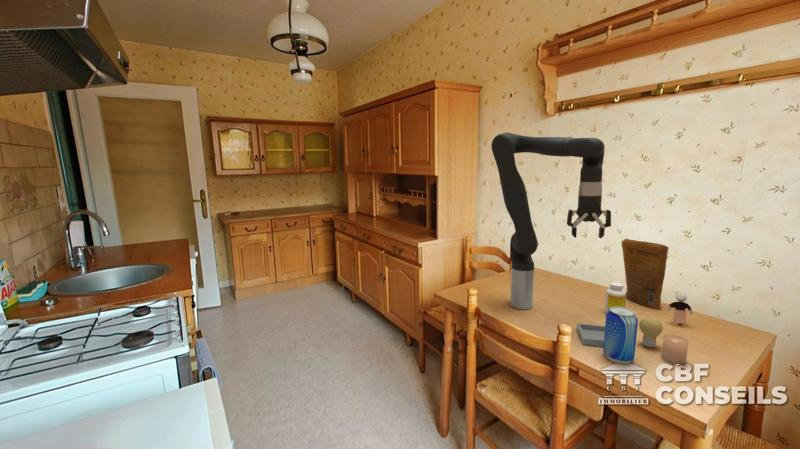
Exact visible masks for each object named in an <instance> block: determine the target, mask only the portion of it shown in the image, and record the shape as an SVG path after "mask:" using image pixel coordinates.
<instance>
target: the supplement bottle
mask: <svg viewBox="0 0 800 449" xmlns="http://www.w3.org/2000/svg"><path fill="white" fill-rule="evenodd" d="M605 292H606V293H605V307H604V311H605V314H607V313H608V312H609V311H610V308H611V307H624V308H626V307H625V305H626V292H625V290H624V284H623V283H621V282H613V281H612V282H610V283H609V287H608V288H607V289H606V291H605Z"/></svg>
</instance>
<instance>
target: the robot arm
mask: <svg viewBox="0 0 800 449" xmlns="http://www.w3.org/2000/svg"><path fill="white" fill-rule="evenodd" d="M605 147H606V146H605V143H604V142H603V140H601V139H599V138H597V137H575V138H574V137H564V136H562V137H561V136H526V135H521V134H516V133H511V132H503V133H499V134H497V135H495V136H494V138H493V139H492V142H491V151H492V152H491V153H492V154H493V157H494V158H493V159H494V161H495V163H496V167H497V171H498V176H499V182H500V187H501V192H502V193H501V194H502V198H503V201H504V205H505V209H506V211H507V212H508V214H509V217H510V219H511V221H512V223H513V226H514V231H515V232H514V233H513V234H512V235H511V237H510V242H509V251H510V252H509V260H510V262H511V273H510V274H511V278H510V280H511V281H510V308H514V309H518V310H525V311H526V310H530V309H533V305H534V285H535V284H534V280H535V279H534V277H535V262H534V260H533V258H532V255H533V254H534V253H535V252H536V251H537V250H538V246H539V243H538V241H539V240H538V239H537V238H538V237H537V235H536V231H535V229H534V225H533V222H532V216H531V211H530V204H529V200H528V194H527V189H526V186H525V182H524V180H523V178H522V176H521V174H520V172H519V170H518V168H517V163H516V158H515V154H520V153H521V154H523V153H528V154H529V153H530V154H531V153H532V154H537V155H538V154H539V155H542V156H543V155H544V156H547V157H548V156H550V157H564V158H565V157H566V158H567V157H568V158H569V157H575V158H582V164H581V168H580V173H579V174H580V175H579V176H580V177H579V184H578V185H579V186H578V191H577V193H578V196H577V198H578V199H577V209H575V210H574V209H568V211H567V217H566V225H567V226H568V227H571V235H572V236H573V238H577V231H578V230H577V229H578V228H577V227H578V225H579V224H581V223H582V222H584V223H585V222H586V223H587V222H589V223H590V222H591V223H594V222H596V223H597V225H599V228H598V238H599V239H603V237H604V236H605V229H606V228H608V227H609V228H610V227H611V226H612V211H611V210H609V209H606V210H605V209H604V210H602V199H603V198H602V197H603V183H602V182H603V164H604V159H605V150H606V148H605ZM575 214H576V215H577V216H578V217H577V218H576V219H575V221H573V222H572V220H573V216H575ZM602 215H603V216H604V217H605V222H604V223H603V221H602V220H601V218H600V217H601V216H602Z"/></svg>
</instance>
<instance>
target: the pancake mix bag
mask: <svg viewBox="0 0 800 449" xmlns="http://www.w3.org/2000/svg"><path fill="white" fill-rule="evenodd" d="M621 248H622V256H623V257H622V258H623V264H624V272H625V273H624V275H625V284H626V285H625V286H626V292H625V294H626V295H625V299H627V300H629V301H631V302H634V303H636V304H639V305H641V306H644V307H646V308H648V309H652V310H662V306H661V301H662V292H663V287H664V281H665V275H666V267H667V260H668V255H669V249H670V248H669V246H667V245H665V244H662V243H661V244H660V243H655V242H648V241H641V240H635V239H630V238H624V239H622V240H621Z"/></svg>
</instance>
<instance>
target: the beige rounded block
mask: <svg viewBox="0 0 800 449" xmlns="http://www.w3.org/2000/svg"><path fill="white" fill-rule="evenodd" d="M688 349H689V340H688V339H686V338H684V337H682V336H679V335H675V334H664V335H663V341H662V350H661V359H662V360H663V361H664V362H666V363H668V364H671V363H672V365H674V364H679V365H678V366H685V365H686V363H687V359H688V358H687V357H688ZM684 364H685V365H684Z"/></svg>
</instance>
